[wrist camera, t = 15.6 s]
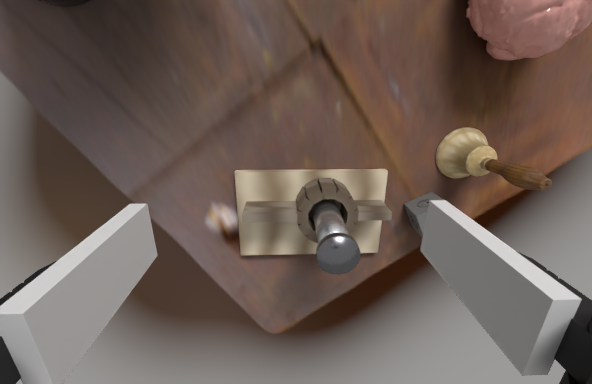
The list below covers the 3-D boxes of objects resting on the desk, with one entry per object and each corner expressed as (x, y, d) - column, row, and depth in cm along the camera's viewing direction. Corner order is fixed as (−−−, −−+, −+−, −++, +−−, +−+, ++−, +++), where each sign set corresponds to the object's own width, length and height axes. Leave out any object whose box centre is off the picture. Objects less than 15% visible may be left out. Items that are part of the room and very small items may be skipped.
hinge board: (241, 251, 50) (236, 273, 45) (235, 170, 45) (228, 182, 39) (375, 249, 51) (387, 270, 46) (385, 168, 46) (400, 181, 40)
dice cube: (431, 191, 48) (447, 202, 43) (439, 215, 50) (455, 229, 45) (403, 203, 49) (416, 216, 44) (411, 226, 50) (425, 241, 46)
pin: (307, 217, 47) (316, 274, 33) (308, 189, 46) (317, 237, 31) (337, 217, 47) (358, 274, 33) (339, 189, 46) (362, 236, 32)
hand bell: (425, 150, 45) (495, 183, 30) (471, 115, 44) (569, 132, 29) (450, 187, 48) (526, 235, 33) (495, 155, 46) (596, 190, 31)
